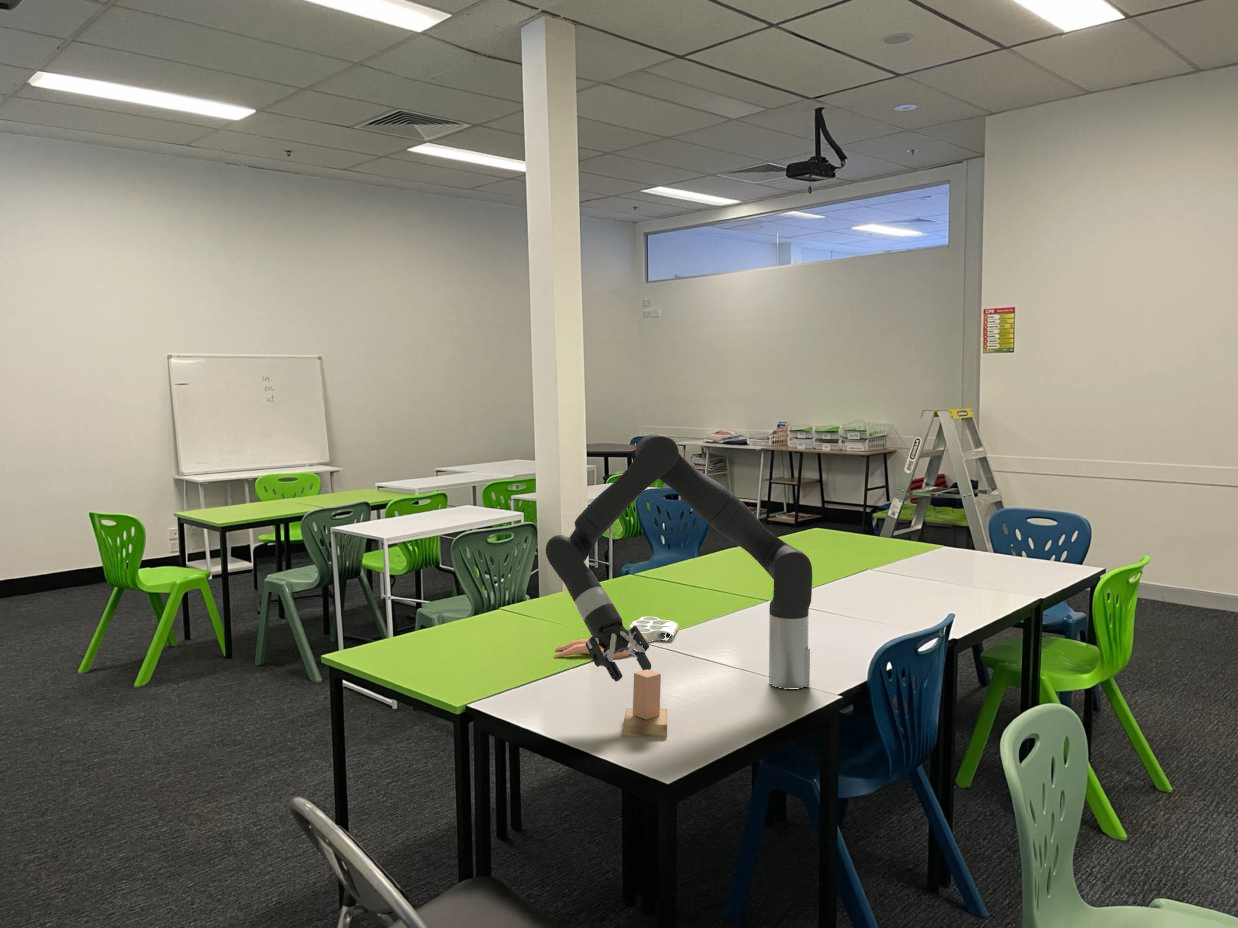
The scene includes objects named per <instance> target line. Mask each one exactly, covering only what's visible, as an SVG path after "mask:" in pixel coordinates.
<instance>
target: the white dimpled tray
mask: <svg viewBox="0 0 1238 928" xmlns="http://www.w3.org/2000/svg"><path fill="white" fill-rule="evenodd" d="M633 626H636V627H637V628H638V629H639V631H640V632H641V634H642V635H643V636H646V642H649V641H652V640H662V639H664V638H665V636H664V635H665V633H668V635H669V634H671V636H670V637H669V639H668V641H667V642H670V641H672V640H673V639H674V636H675V635H676V633H677V631H678V629H679V624H678V623H677V622H675V621H673V620H666V619H661V618H659V617H657V616H642V617H639V619H636V620H633V621H631V624H630V625H628V627H629V628H628V629H627V630H629V629H631V628H632V627H633ZM652 642H653V641H652ZM649 643H650V642H649Z"/></svg>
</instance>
